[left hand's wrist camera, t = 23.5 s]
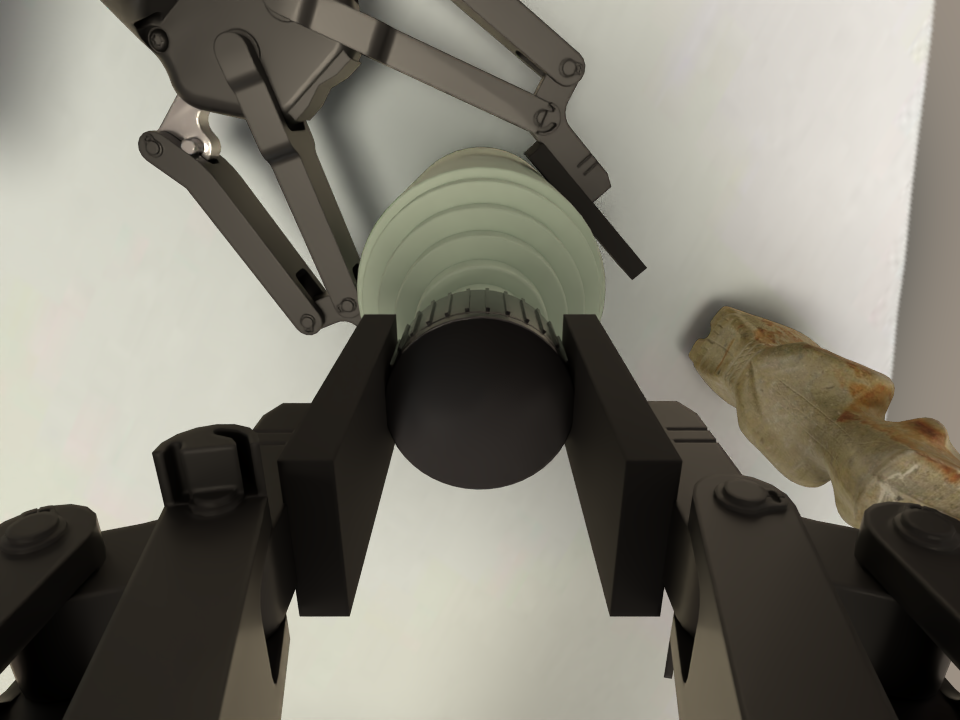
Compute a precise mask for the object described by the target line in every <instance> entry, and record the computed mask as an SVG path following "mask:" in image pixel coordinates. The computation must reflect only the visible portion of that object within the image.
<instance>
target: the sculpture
mask: <svg viewBox="0 0 960 720" xmlns="http://www.w3.org/2000/svg"><path fill="white" fill-rule="evenodd" d="M710 325H711V331H710V334H709V335H708V337H707V338H705V339H701V338H700V339H698V340H697V341H696V342H695V344H694V346H693V347H692V349H691V351H690V353H689V358H690V359H691V360H692V361H693V362H694V367H695V368H696V370H697V372H698V373H699V374H700V376H701V377H702V378H703V380H704V381H705V382H706V383H707V384H708V385H709V387H710V388H711V389H712V390H713V391H714V392H715V393H716V394H718V395H719V396H720V397H721V398H722V399H723V400H725V401H726V402H727V403H728V404H730V405H732V406H734V407H735V408H737V417H738V423H739V427H740V429H741V431H742V433H743V434H744V435H745V436H746V438H747V439H748V440H749V441H750V442H751V443H752V444H753V445H754V446H755V447H756V448H757V449H758V450H759V451H760V452H761V453H762V454H763V455H764V456H765V457H766V458H767V459H768V460H769V461H770V462H771V463H772V464H773V465H774V467H775V468H776V469H777V470H778V471H779V472H781V473H782V474H783V475H784V476H785V477H786V478H788V479H789V480H791V481H792V482H794V483H796V484H799V485H802V486H805V487H819V486H822V485H824V484H825V483H827V482H828V481H830V480H831V482H832V485H833V489H834V495H835V502H836V507H837V510H838V513H839V514H840V516H841V517H842V519H843V520H844V521H845V522H846V523H847V524H849V525H851V526H852V527H854V528H857V529H859V528H860V525H861V521H862V518H863V514H864V511H865V510H866V509H867V508H869V507H870V506H871V505H873V504H876V503H882V502H888V501H891V502H903V503H914V504H920V505H921V506H923V505H924V506H927V507H931V508H934V509H936V510H938V511H939V512H941V513H944V514H946V515H948V516H951V517H953V518H955V519H957V520H959V521H960V454H959V453H958V452H957V451H956V449H955V448H954V447H953V446H952V444H951V443H950V440H949V436H948V433H947V430H946V429H945V427H944V426H943V425H942V424H941V423H940V422H939V421H937V420H935V419H932V418H917V419H912V420H906V421H901V422H890V421H885V414H886V411H887V409H888V407H889V405H890V402H891V400H892V398H893V395H894V389H895V388H894V384H893V382H892V381H891V379H890V378H889V377H887V376H886V375H884V374H882V373H879V372H877V371H875V370H872V369H870V368H868V367H865V366H863V365H861V364H858V363H856V362H853V361H851V360H848V359H845V358H843V357H841V356H838V355H836V354H834V353H832V352H830V351H828V350H826V349H822V348H821V347H820V346H819V345H817V344H816V343H815V342H814V341H812V340H811V339H810V338H808V337H807V336H805V335H804V334H802V333H800V332H798V331H796V330H794V329H792V328H789V327H786V326H784V325H781V324H778V323H776V322H773V321H770V320H767V319H764V318H761V317H758V316H755V315H751V314H749V313H746V312H743V311H740V310H737V309H734V308H732V307H728V306H724V307H722V308H721V309H720V310H719V311H718V313H717V314H716V315H715V316H714V318H713V319H712V320H711V323H710Z"/></svg>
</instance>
